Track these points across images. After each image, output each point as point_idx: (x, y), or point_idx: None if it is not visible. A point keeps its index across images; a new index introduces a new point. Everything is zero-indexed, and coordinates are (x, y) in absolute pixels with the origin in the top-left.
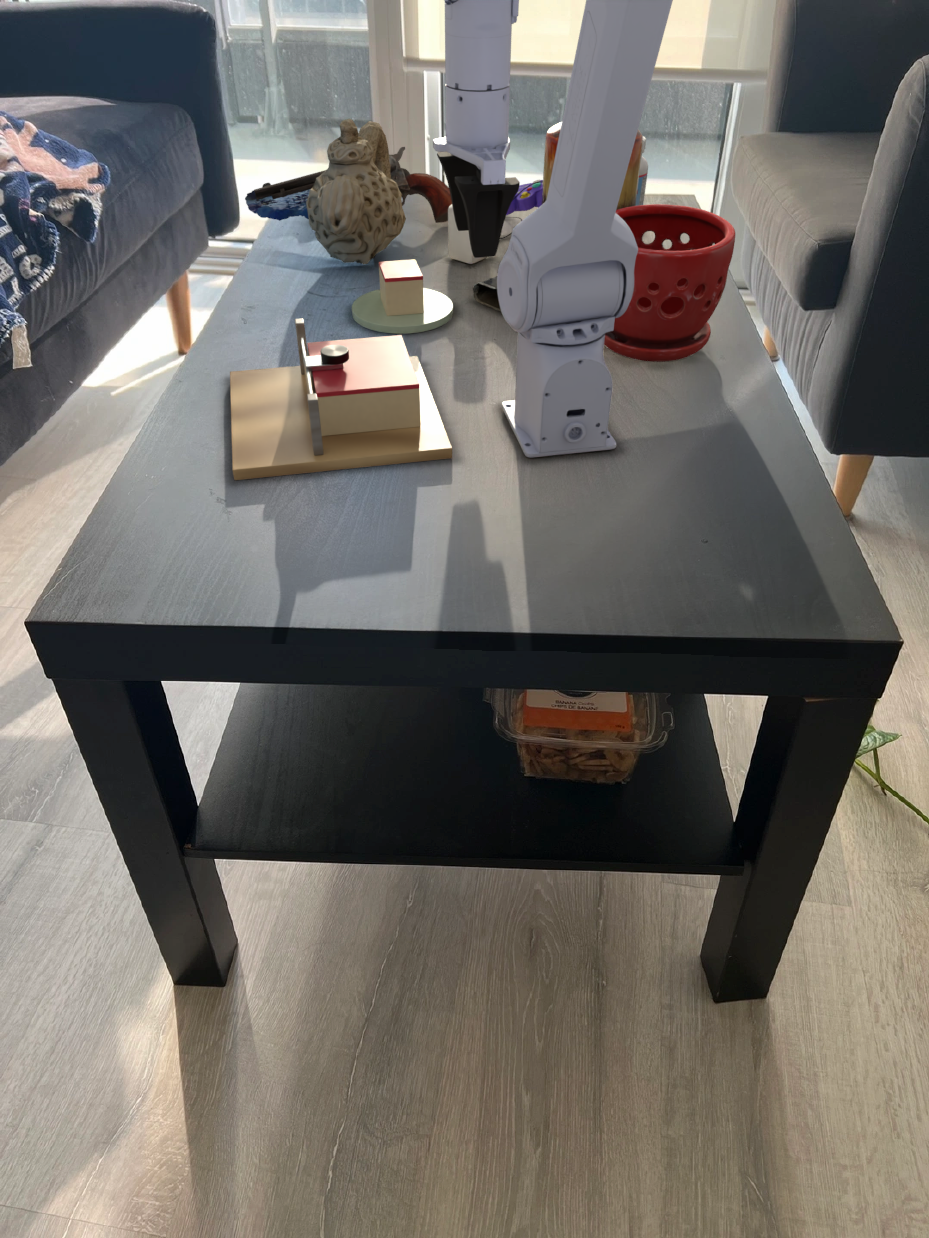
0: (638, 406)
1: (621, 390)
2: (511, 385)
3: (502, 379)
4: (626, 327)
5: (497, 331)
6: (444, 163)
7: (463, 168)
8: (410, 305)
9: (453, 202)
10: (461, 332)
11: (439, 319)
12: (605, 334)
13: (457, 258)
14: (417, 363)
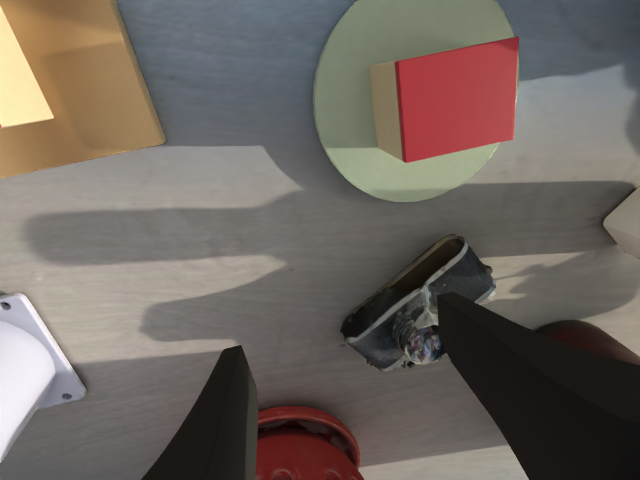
0: (88, 443)
1: (133, 426)
2: (116, 300)
3: (136, 286)
4: None
5: (324, 272)
6: (607, 423)
7: (572, 459)
8: (380, 122)
9: (487, 331)
10: (320, 215)
11: (347, 179)
12: None
13: (629, 198)
14: (123, 146)
